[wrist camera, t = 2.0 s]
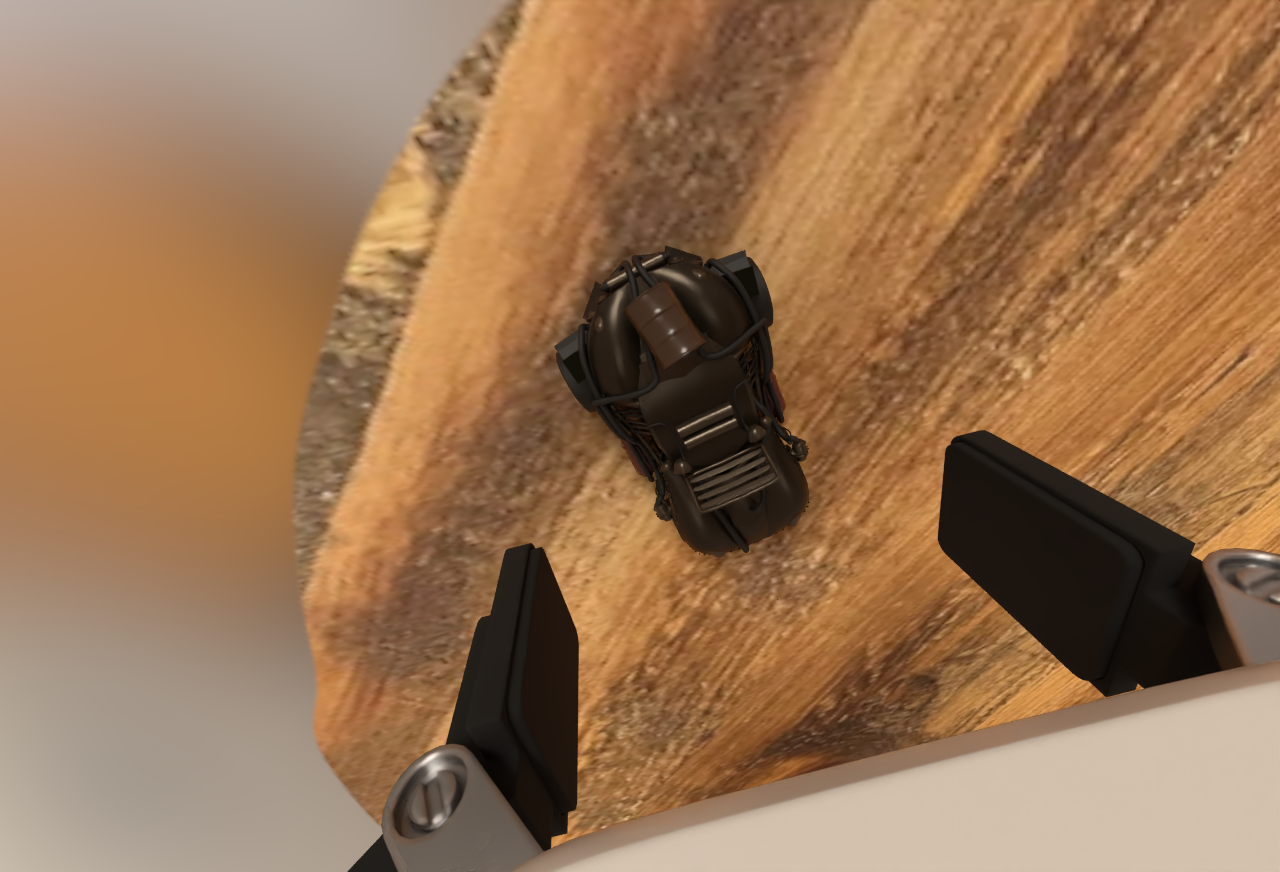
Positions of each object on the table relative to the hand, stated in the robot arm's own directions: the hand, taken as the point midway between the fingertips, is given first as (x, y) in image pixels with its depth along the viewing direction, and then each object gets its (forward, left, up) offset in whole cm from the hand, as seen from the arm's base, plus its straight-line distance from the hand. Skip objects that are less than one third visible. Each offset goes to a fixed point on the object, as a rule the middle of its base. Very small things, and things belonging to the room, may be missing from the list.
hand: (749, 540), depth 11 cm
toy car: (0, 0, -6) cm, 6 cm away
